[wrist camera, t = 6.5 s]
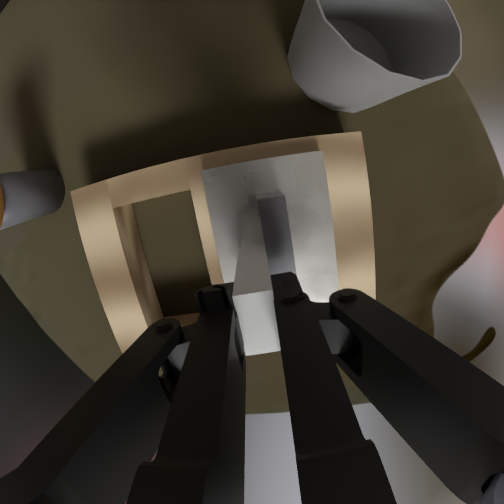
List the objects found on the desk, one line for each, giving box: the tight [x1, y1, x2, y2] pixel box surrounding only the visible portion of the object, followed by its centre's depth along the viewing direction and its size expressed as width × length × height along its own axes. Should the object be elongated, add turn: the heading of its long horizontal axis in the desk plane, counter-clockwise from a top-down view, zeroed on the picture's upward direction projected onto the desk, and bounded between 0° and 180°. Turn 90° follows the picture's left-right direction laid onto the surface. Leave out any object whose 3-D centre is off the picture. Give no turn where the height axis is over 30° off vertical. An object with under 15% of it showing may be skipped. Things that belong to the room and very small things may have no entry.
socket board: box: [71, 132, 376, 354], centre depth 21 cm, size 14×20×4 cm
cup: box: [287, 0, 462, 113], centre depth 14 cm, size 8×8×10 cm
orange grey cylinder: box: [0, 169, 65, 230], centre depth 16 cm, size 5×5×10 cm
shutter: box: [201, 151, 339, 302], centre depth 17 cm, size 12×7×3 cm, turn 10°
